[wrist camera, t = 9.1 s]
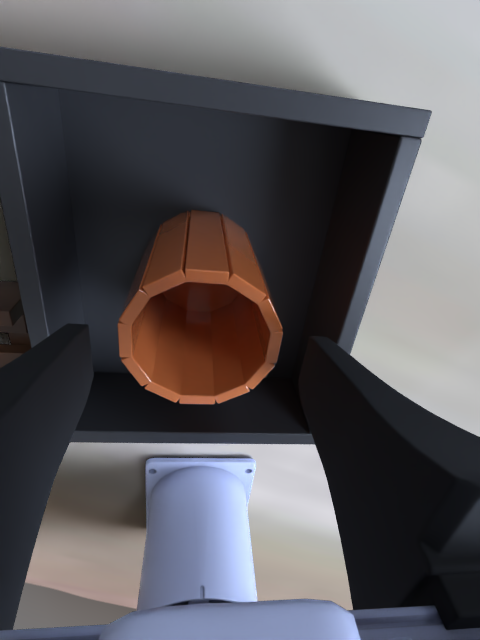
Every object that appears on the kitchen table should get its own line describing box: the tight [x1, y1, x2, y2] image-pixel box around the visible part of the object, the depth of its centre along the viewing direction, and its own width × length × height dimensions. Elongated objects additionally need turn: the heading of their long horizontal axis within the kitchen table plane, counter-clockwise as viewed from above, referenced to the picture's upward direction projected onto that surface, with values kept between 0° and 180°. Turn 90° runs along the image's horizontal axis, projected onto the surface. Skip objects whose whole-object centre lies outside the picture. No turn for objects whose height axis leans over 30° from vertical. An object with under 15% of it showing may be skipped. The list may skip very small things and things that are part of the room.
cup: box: [117, 210, 283, 404], centre depth 15 cm, size 6×6×7 cm
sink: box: [0, 47, 432, 444], centre depth 17 cm, size 16×14×5 cm
